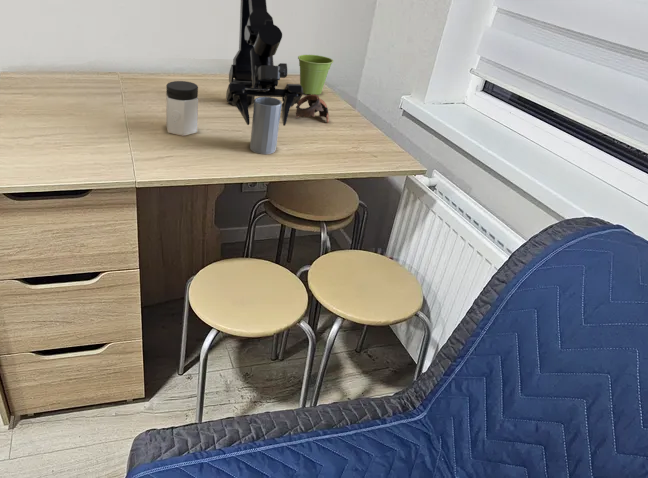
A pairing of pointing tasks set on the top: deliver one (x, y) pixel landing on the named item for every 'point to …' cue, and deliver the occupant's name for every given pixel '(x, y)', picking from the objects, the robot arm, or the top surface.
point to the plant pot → (313, 72)
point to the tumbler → (265, 125)
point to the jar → (181, 107)
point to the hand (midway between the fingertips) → (266, 124)
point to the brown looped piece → (312, 107)
